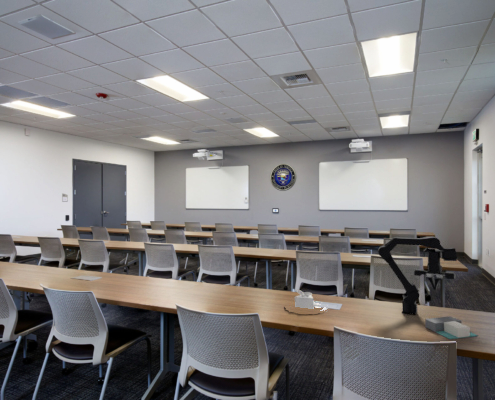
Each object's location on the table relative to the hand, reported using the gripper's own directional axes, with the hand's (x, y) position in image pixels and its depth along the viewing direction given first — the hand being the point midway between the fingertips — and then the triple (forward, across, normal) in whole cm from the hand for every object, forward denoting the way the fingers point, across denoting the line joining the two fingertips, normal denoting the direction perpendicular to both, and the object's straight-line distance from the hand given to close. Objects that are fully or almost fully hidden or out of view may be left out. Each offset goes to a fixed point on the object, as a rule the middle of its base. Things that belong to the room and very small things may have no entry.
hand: (435, 290), depth 180 cm
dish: (+14, +62, +28) cm, 69 cm away
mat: (+13, -12, +25) cm, 31 cm away
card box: (+11, -10, +22) cm, 26 cm away
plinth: (+13, -7, +20) cm, 24 cm away
